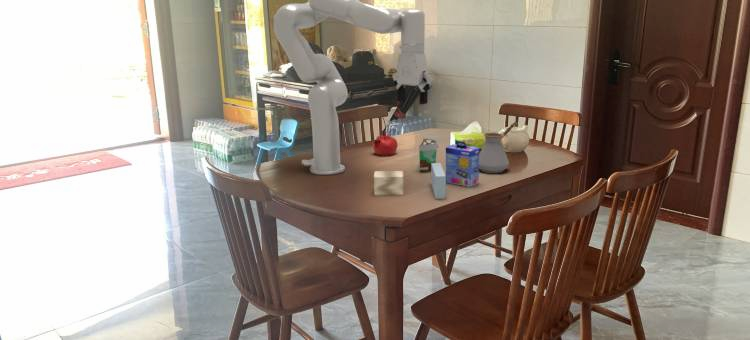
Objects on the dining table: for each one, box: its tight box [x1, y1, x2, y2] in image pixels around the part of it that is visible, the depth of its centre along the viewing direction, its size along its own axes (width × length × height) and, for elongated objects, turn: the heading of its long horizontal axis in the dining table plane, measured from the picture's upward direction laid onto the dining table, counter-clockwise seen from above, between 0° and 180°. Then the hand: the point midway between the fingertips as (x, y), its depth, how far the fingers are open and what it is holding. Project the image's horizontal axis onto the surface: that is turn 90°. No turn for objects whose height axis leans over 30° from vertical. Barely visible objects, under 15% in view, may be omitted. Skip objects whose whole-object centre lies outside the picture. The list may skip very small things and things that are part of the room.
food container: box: [418, 137, 439, 173], centre depth 207 cm, size 12×6×10 cm, turn 168°
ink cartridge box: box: [445, 140, 480, 188], centre depth 188 cm, size 10×6×14 cm, turn 51°
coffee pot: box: [479, 122, 519, 174], centre depth 206 cm, size 21×12×15 cm, turn 138°
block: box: [373, 170, 404, 196], centre depth 182 cm, size 9×7×6 cm
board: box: [430, 162, 447, 200], centre depth 182 cm, size 3×16×7 cm, turn 179°
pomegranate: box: [372, 131, 399, 157], centre depth 231 cm, size 10×10×9 cm
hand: (412, 102), depth 191 cm, fingers open, 9 cm apart
